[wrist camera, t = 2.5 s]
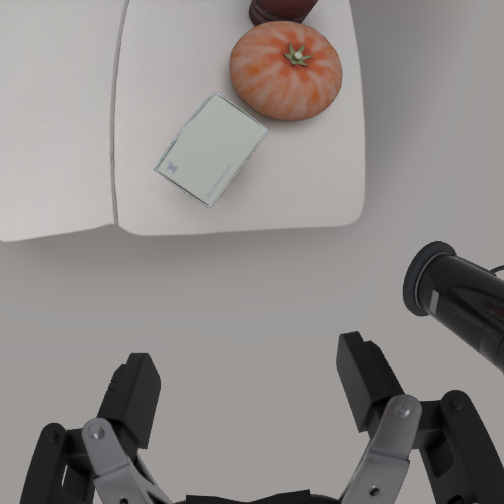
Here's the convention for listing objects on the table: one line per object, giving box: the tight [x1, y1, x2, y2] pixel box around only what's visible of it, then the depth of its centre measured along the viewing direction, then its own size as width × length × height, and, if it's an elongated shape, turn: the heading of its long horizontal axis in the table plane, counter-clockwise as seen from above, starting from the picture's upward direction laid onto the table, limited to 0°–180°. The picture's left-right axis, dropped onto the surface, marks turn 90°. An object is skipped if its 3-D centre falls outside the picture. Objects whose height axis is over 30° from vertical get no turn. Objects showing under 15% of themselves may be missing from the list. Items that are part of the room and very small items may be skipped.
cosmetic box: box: [154, 92, 268, 207], centre depth 21 cm, size 6×4×12 cm
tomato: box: [230, 21, 342, 121], centre depth 21 cm, size 11×11×8 cm
